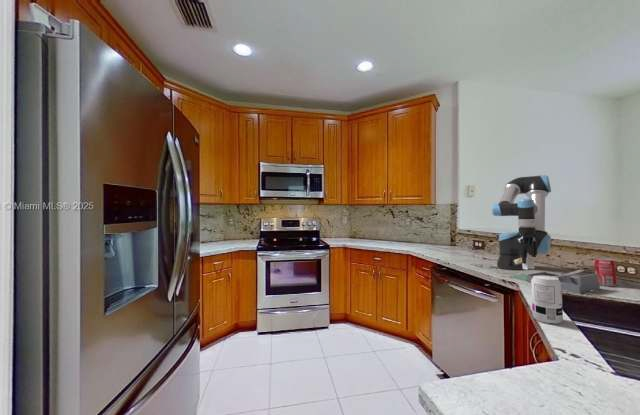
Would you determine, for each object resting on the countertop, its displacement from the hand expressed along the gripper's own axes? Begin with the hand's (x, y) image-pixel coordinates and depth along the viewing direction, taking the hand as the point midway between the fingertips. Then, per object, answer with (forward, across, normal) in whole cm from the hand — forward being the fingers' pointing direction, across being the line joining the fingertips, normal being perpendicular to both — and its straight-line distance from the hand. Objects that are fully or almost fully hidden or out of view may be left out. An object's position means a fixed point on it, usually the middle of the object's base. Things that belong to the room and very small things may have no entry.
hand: (528, 268), depth 154 cm
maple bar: (-4, 0, +2) cm, 4 cm away
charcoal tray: (+6, 0, -15) cm, 16 cm away
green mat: (+6, 0, +2) cm, 6 cm away
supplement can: (+6, -53, -41) cm, 67 cm away
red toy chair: (+6, +19, -24) cm, 31 cm away
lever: (+1, 0, -17) cm, 17 cm away
